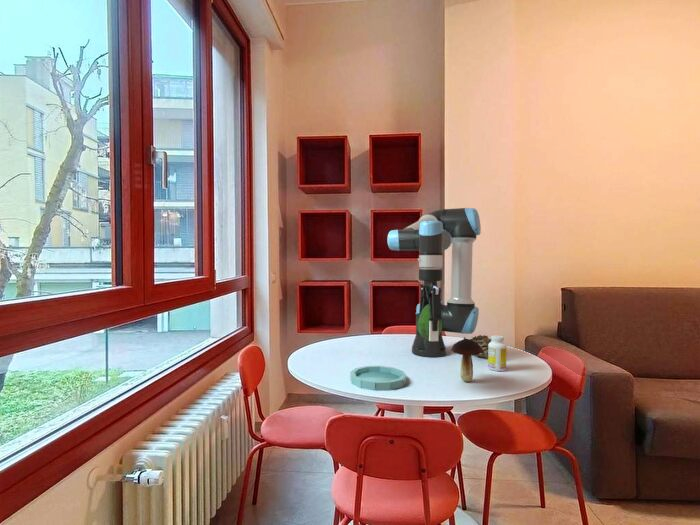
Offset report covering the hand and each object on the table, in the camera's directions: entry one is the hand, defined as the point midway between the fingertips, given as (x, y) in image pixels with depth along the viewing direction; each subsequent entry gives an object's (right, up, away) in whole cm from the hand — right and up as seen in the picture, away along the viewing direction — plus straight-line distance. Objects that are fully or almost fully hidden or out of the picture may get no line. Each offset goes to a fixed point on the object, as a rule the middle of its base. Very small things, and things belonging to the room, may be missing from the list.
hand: (429, 337), depth 126 cm
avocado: (0, -1, 0) cm, 1 cm away
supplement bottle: (+31, -17, +24) cm, 43 cm away
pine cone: (+30, -17, +45) cm, 57 cm away
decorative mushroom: (+15, -17, +9) cm, 24 cm away
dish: (-16, -17, +8) cm, 25 cm away
